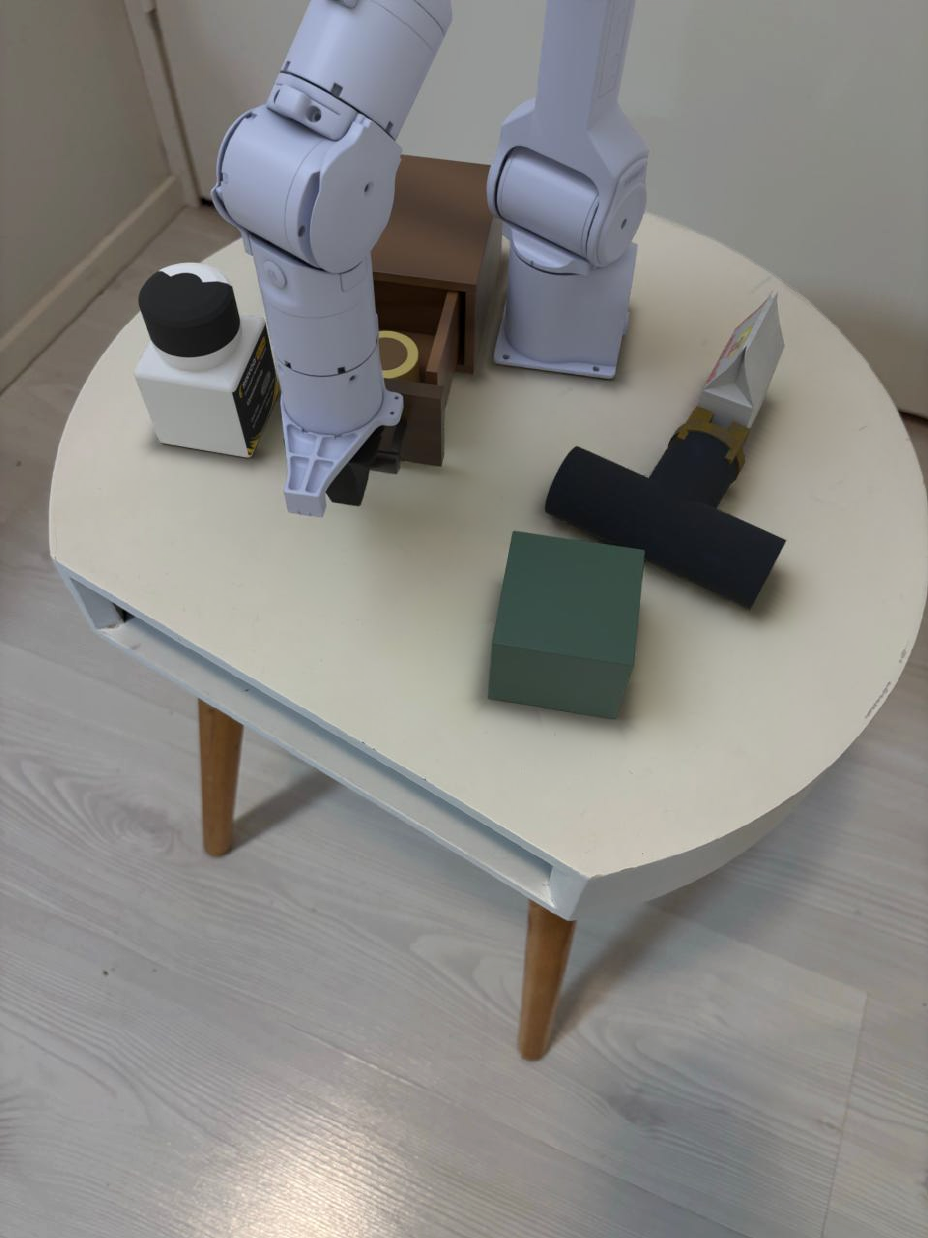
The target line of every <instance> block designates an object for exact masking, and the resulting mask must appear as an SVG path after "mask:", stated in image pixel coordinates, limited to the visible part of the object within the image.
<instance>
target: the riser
mask: <svg viewBox="0 0 928 1238" xmlns="http://www.w3.org/2000/svg"><path fill="white" fill-rule="evenodd" d="M644 555H645V551H644V550H640V549H633V548H627V547H620V546H615V545H612V544H606V543H599V542H593V541H586V540H579V539H572V538H566V537H558V536H552V535H547V534H539V533H533V532H525V531H519V530H512V531H511V537H510V542H509V548H508V554H507V560H506V564H505V569H504V574H503V575H504V576H503V580H502V585H501V590H500V597H499V602H498V606H497V607H498V608H497V612H496V617H495V623H494V629H493V632H492V633H493V634H492V639H491V647H490V661H489V672H488V673H489V674H488V687H487V699H490V700H494V701H495V700H496V701H503V702H509V703H513V704H519V705H525V706H533V707H539V708H544V709H551V710H555V711H556V710H557V711H563V712H570V713H577V714H581V715H587V716H593V717H598V718H599V717H600V718H605V719H612V720H616V719H617V716H618V712H619V709H620V706H621V703H622V701H623V698H624V695H625V693H626V690H627V687H628V683H629V680H630V677H631V675H632V672H633V669H634V666H635V657H636V647H637V637H638V627H639V618H640V617H639V615H640V605H641V597H642V596H641V595H642V586H643V575H644V566H645V565H644V564H645V560H644Z"/></svg>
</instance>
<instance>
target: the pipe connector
mask: <svg viewBox="0 0 928 1238" xmlns="http://www.w3.org/2000/svg"><path fill="white" fill-rule="evenodd" d="M713 416H714V413H712V412H710V411H708V410H705V409H703V408H700V407H698V406H697V405H696V406H695V407H694V409H693V411H692V412H691V414H690V415H689V417H688V418H687V420H686V422H685V423H683V424H681V425H680V426H679V427H678V428H677V429H675V430H674V433H673V434H672V435H671V437H670V439H669V441H668V443H667V447H666V449H665V451H664V453H663V454H662V456H661V457H660V458H659V460H658V462H657V464H656V465H655V466H654V468H653V470H652V471H651V473H650V475H649V476H645V475H643V474H641V473H639V472H637V471H635V470H632V469H630V468H627V467H626V466H623V465H621V464H619V463H616V462H614V461H613V460H610V459H607V458H605V457H603V456H601V455H598V454H596V453H595V452H593V451H590V450H588V449H586V448H583V447H580V446H578V445H575V446H574V447H573V448H571V450H570V451H569V452H568V453H567V454H566V456H565V457H564V459H563V460H562V462H561V464H560V465H559V467H558V469H557V471H556V473H555V475H554V477H553V479H552V481H551V484H550V486H549V489H548V492H547V495H546V499H545V503H544V505H545V506H544V511H545V513H546V514H547V515H549V516H552V517H554V518H556V519H558V520H559V521H562V522H564V523H566V524H568V525H570V526H572V527H575V528H577V529H579V530H580V531H583V532H585V533H586V534H589V535H591V536H594V537H596V538H597V539H600V540H602V541H604V542H606V543H609V545H613V546H620V547H627V548H633V549H640V550H644V551H645V555H644V561H646V562H648V563H650V564H652V565H654V566H656V567H658V568H661V569H663V570H665V571H667V572H670V573H672V574H673V575H676V576H678V577H680V578H682V579H683V580H686V581H688V582H690V583H692V584H695V585H696V586H699V587H701V588H703V589H705V590H707V591H709V592H711V593H714V594H716V595H717V596H720V597H723V598H724V599H726V600H728V601H731V602H732V603H734V604H737V605H739V606H741V607H743V608H744V609H747V610H750V611H751V610H752V609H753V606H754V605H755V603H756V601H757V599H758V597H759V595H760V593H761V591H762V589H763V587H764V586H765V583H766V581H767V579H768V577H769V576H770V573H771V572H772V570H773V568H774V567H775V564H776V562H777V560H778V558H779V557H780V556H779V555H780V554H781V552H782V550H783V548H784V546H785V545H786V543H787V539H785V538H783V537H781V536H779V535H776V534H774V533H772V532H770V531H768V530H765V529H763V528H761V527H759V526H757V525H754V524H752V523H751V522H750V523H749V521H748V522H747V521H745V520H743V519H741V518H739V517H736V516H735V515H732V514H730V513H728V512H725V511H723V510H721V509H719V508H718V507H719V505H720V504H721V502H722V500H723V499H724V497H725V495H726V493H727V491H728V489H729V488H730V487H731V485H732V484H733V483H734V482H735V481H736V480H737V478H738V477H739V475H740V473H741V472H742V470H743V468H744V467H745V462H746V460H745V459H746V457H745V452H744V449H743V447H744V446H745V444H746V442H747V440H748V437H749V436H750V435H749V434H750V432H751V430H752V428H748V427H745V426H743V425H741V424H738V423H736V422H734V421H732V423H731V424H730V426H729V428H728V429H727V431H726V430H725V429H723V428H721V427H719V426H717V425H714V424H712V423H711V422H712V419H713Z"/></svg>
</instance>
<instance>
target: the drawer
mask: <svg viewBox="0 0 928 1238" xmlns="http://www.w3.org/2000/svg"><path fill="white" fill-rule="evenodd" d="M373 284H374V296H375V308H376V314H377V316H378V329H379V331H394V332H398V333H401V334H404V335H405V336H407V337H409V338H410V339H411V340H412V341H413V342H414V343H415V345H416V346H417V349H418V352H419V378H420V383H418V382H411V381H404V380H397V379H389V378H384V384H385V388H386V389H387V390H388V391H390V392H396V393H399V394H401V395H402V396H403V405H404V407H403V411H402V414H401V418H400V421H399V422H398V424H396V425H394V426H387V425H385V429H384V431H383V432H382V434H381V435H380V436H382V439H381V443H380V446H379V450H378V453H377V456H376V458H375V461H374V463H373V464H372V466H371V468H370V471H369V472H377V473H383V474H391V475H398V474H399V472H400V470H401V462H405V463H412V464H419V465H426V466H432V467H439V468H441V467H443V463H444V459H445V454H446V452H445V451H446V450H445V445H446V444H445V412H446V408H447V404H448V401H449V395H450V391H451V389H452V388H451V387H452V383H453V379H454V375H455V373H456V372H455V368H456V364H457V360H458V356H459V352H460V348H461V344H462V337H463V334H462V333H463V292H462V291H455V290H447V289H439V288H432V287H424V286H417V285H409V284H401V283H394V282H386V281H378V280H373Z"/></svg>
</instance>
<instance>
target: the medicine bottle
mask: <svg viewBox="0 0 928 1238" xmlns="http://www.w3.org/2000/svg"><path fill="white" fill-rule="evenodd" d="M137 297H138V299H137V304H138V307H139V310H140V313H141V315H142V319H143V322H144V325H145V327H146V330H147V333H148V337H149V339H150V340H149V341H148V343H147V345H146V347H145V349H144V351H143V353H142V355H141V356H140V359H139V360H138V363H137V364H136V366H135V369H134V370H133V377H134V379H135V382H136V384H137V387H138V390H139V392H140V395H141V397H142V400H143V403H144V405H145V409H146V410H147V413H148V415H149V419H150V421H151V424H152V426H153V430H154V432H155V434H156V437H157V440H158V441H159V442H160V443H161V444H166V445H171V446H178V447H183V448H190V449H195V450H200V451H206V452H212V453H217V454H224V455H230V456H236V457H242V458H251V457H252V456H253V455H254V452H255V450H256V448H257V445H258V442H259V440H260V438H261V435H262V433H263V431H264V428H265V425H266V423H267V420H268V418H269V416H270V413H271V411H272V409H273V406H274V404H275V402H276V399H277V397H278V394H279V393H280V392H279V391H280V384H279V379H278V374H277V369H276V365H275V360H274V355H273V350H272V345H271V340H270V336H269V331H268V326H267V321H265V320H266V319H264V318H263V317H260V316H254V315H253V316H252V315H246V314H240V313H239V308H238V304H237V300H236V296H235V291H234V288H233V285H232V282H231V280H230V279H229V277H228V276H227V275H226V274H224V273H223V272H222V271H221V270H219V269H217V268H215V267H213V266H212V265H209V264H204V263H201V262H181V263H180V262H179V263H174V264H171V265H168V266H165V267H163V268H160V269H159V270H157V271H156V272H155V273H153V274H152V275H150V277H148V278H147V280H146V281H145V283H144V284H143V285H142V287H141V289H140V291H139V293H138V296H137Z"/></svg>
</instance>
